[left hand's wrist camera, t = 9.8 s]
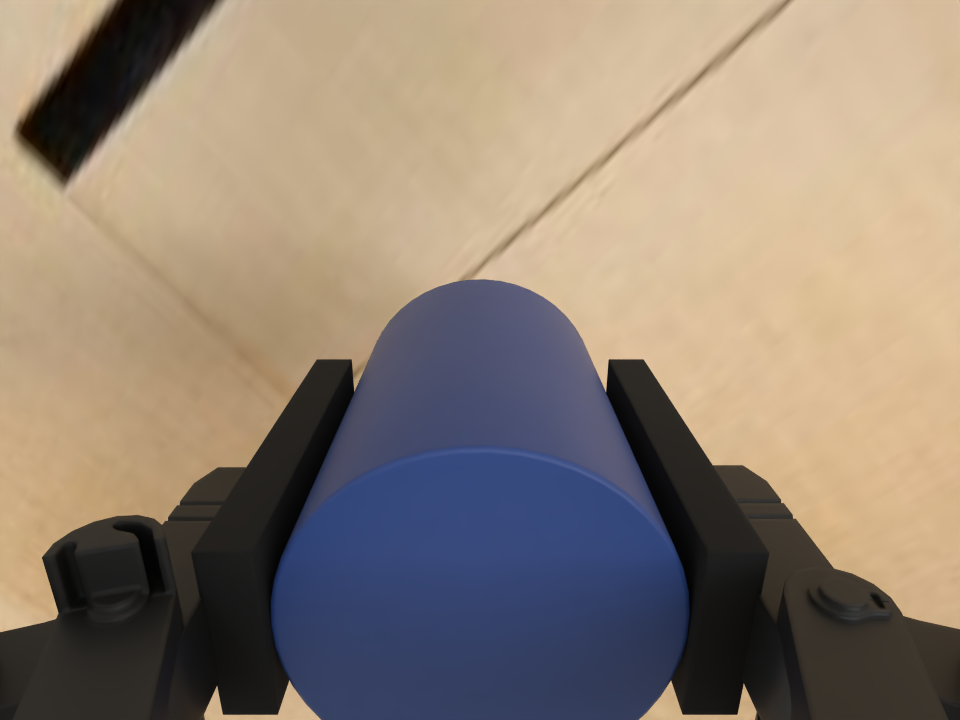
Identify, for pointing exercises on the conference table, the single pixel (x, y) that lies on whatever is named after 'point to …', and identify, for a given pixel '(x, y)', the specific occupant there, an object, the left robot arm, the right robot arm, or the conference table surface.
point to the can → (480, 532)
